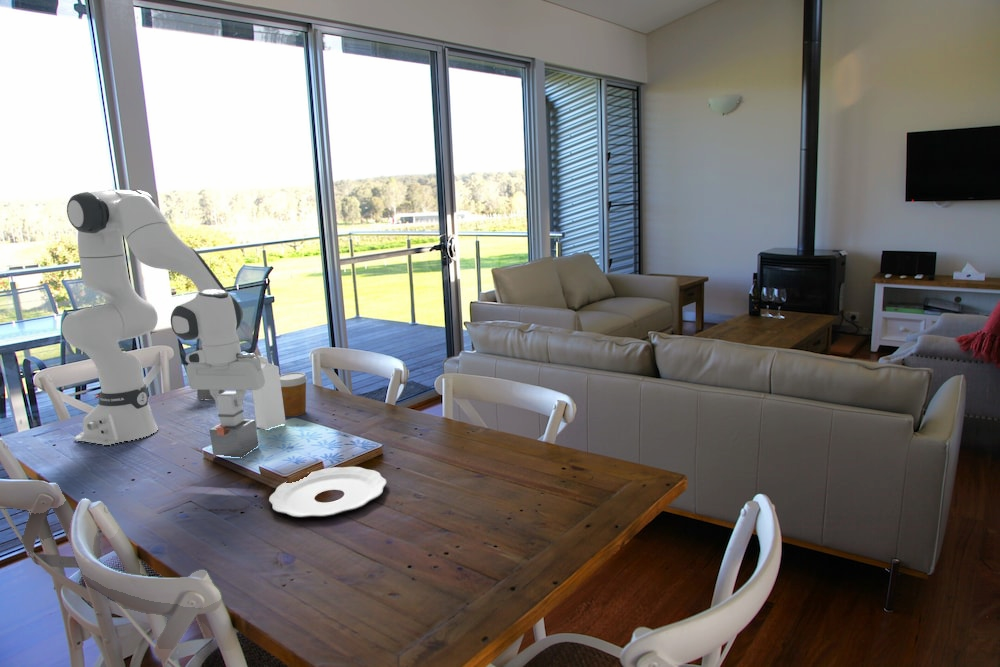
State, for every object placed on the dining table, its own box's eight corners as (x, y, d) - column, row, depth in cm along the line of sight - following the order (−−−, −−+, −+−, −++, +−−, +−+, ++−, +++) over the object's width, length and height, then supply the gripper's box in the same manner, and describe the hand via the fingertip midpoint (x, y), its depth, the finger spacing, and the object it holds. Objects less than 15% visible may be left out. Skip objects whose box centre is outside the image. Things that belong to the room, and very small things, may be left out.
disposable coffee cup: (277, 411, 215) (272, 375, 213) (308, 406, 219) (303, 370, 216) (281, 420, 207) (276, 382, 204) (313, 414, 210) (309, 377, 208)
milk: (267, 435, 194) (257, 360, 189) (257, 431, 198) (246, 357, 193) (287, 429, 198) (277, 355, 194) (276, 425, 202) (266, 353, 198)
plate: (328, 534, 135) (327, 525, 135) (246, 509, 149) (245, 501, 148) (409, 485, 156) (408, 477, 156) (330, 467, 169) (329, 459, 169)
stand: (196, 466, 174) (190, 429, 172) (229, 446, 187) (224, 411, 185) (245, 468, 170) (240, 430, 168) (275, 447, 184) (271, 412, 182)
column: (224, 455, 177) (215, 396, 174) (234, 448, 181) (225, 391, 178) (239, 455, 176) (230, 396, 173) (249, 449, 180) (240, 391, 177)
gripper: (265, 350, 174) (272, 402, 176) (195, 350, 178) (203, 401, 181) (251, 356, 168) (258, 410, 170) (179, 356, 172) (187, 408, 175)
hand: (229, 405), depth 176 cm, fingers closed on column, 4 cm apart
